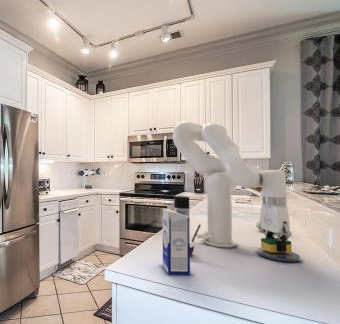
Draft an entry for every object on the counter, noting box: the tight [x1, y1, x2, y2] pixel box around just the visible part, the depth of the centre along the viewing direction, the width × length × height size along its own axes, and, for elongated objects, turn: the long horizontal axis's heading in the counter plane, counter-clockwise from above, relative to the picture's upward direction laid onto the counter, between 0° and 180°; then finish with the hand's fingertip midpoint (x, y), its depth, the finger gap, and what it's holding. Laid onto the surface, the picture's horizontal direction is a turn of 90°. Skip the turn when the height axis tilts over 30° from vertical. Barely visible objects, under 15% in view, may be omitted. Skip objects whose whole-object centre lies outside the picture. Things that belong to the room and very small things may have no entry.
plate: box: [256, 247, 301, 263], centre depth 94 cm, size 13×13×2 cm
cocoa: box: [190, 223, 201, 256], centre depth 96 cm, size 10×6×12 cm, turn 49°
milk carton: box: [162, 207, 191, 276], centre depth 82 cm, size 7×7×20 cm
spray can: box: [173, 195, 190, 217], centre depth 116 cm, size 7×7×20 cm
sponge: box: [260, 237, 293, 252], centre depth 96 cm, size 8×5×4 cm, turn 89°
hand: (275, 248), depth 96 cm, fingers closed on sponge, 5 cm apart
